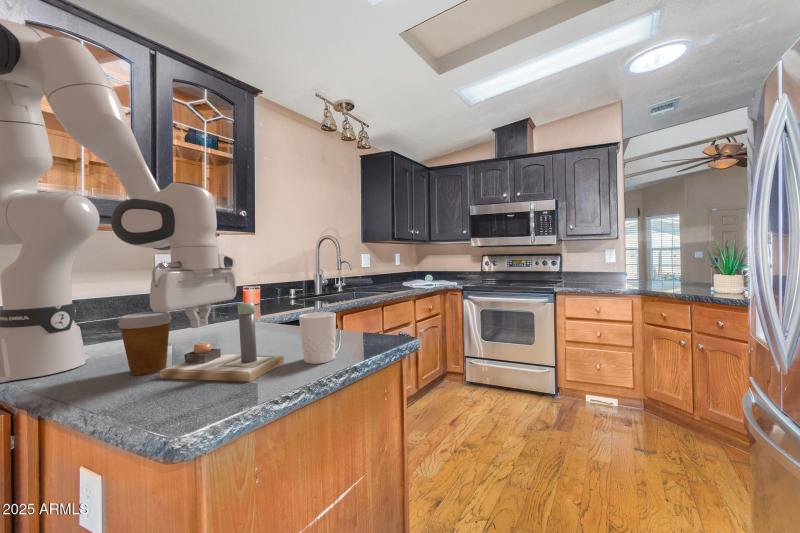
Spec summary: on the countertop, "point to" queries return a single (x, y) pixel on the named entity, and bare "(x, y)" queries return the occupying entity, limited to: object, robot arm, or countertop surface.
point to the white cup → (318, 336)
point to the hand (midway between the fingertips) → (199, 326)
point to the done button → (202, 348)
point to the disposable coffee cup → (145, 341)
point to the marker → (247, 332)
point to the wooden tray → (221, 367)
